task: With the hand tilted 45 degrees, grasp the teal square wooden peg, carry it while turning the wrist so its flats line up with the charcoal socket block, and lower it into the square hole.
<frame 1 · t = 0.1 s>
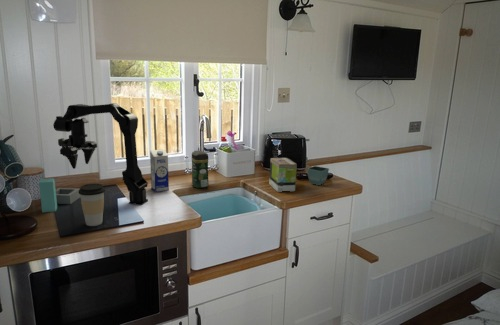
hand: (80, 166, 172), 15 cm above the worktop, tool pointing down, fingers open, 9 cm apart
tea box: (281, 188, 198), on the worktop
coffee jar: (200, 186, 197), on the worktop
milk carton: (160, 189, 189), on the worktop
flower pot: (317, 184, 205), on the worktop
coffee cup: (94, 223, 146), on the worktop
socket block: (64, 200, 170), on the worktop
teal peg: (49, 209, 158), on the worktop
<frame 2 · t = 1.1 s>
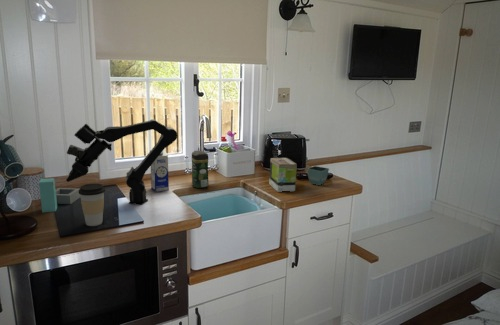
hand: (68, 178, 158), 13 cm above the worktop, tool tilted 45°, fingers open, 9 cm apart
nothing on the worktop moved.
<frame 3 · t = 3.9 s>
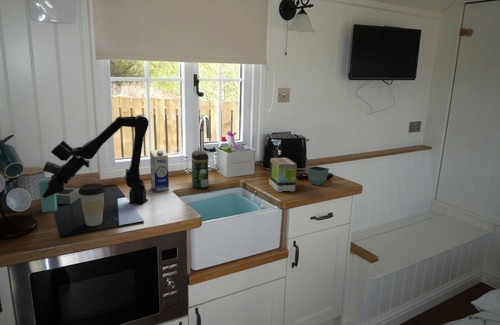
hand: (44, 195, 156), 7 cm above the worktop, tool tilted 45°, fingers closed on teal peg, 5 cm apart
teal peg: (49, 209, 158), on the worktop, touching gripper
everything else where it was.
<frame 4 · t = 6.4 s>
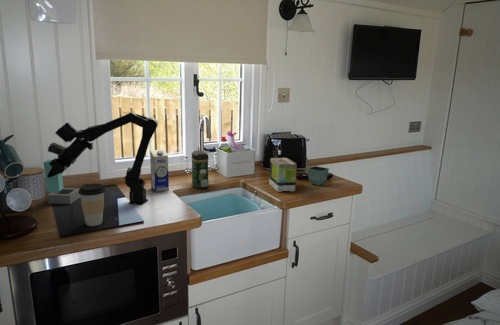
hand: (50, 175, 161), 13 cm above the worktop, tool tilted 45°, fingers closed on teal peg, 5 cm apart
teal peg: (55, 189, 162), point 7 cm above the worktop, touching gripper
everything else where it was.
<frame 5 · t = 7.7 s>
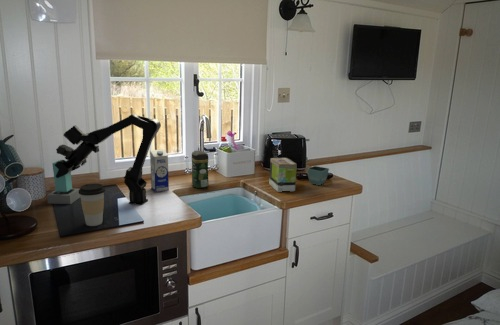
hand: (59, 175, 167), 11 cm above the worktop, tool tilted 45°, fingers closed on teal peg, 5 cm apart
teal peg: (64, 189, 169), point 5 cm above the worktop, touching gripper
everything else where it was.
when the fingers open (8 cm above the worktop, at t = 8.8 s): teal peg drops 1 cm, resting in socket block.
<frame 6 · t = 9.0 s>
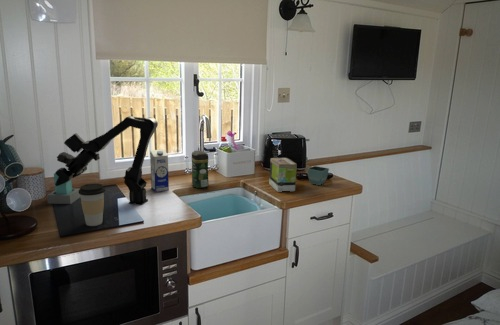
hand: (60, 182, 168), 8 cm above the worktop, tool tilted 45°, fingers open, 7 cm apart
teal peg: (64, 200, 170), resting in socket block
everything else where it was.
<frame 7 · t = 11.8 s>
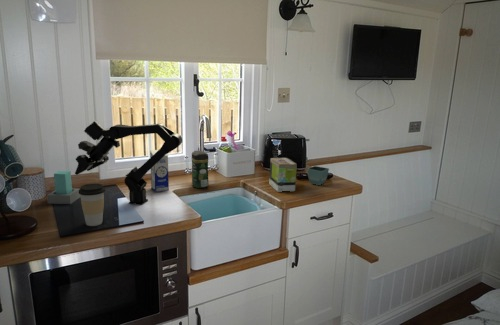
hand: (81, 172, 167), 13 cm above the worktop, tool tilted 40°, fingers open, 9 cm apart
nothing on the worktop moved.
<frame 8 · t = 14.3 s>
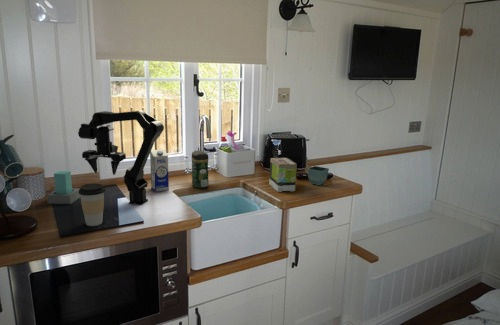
hand: (105, 173, 170), 12 cm above the worktop, tool pointing down, fingers open, 9 cm apart
nothing on the worktop moved.
at the end: teal peg 0.0 cm off-centre on the socket block, point 0.0 cm above the socket block's base; teal peg tilted 0°; the gripper is holding nothing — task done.
